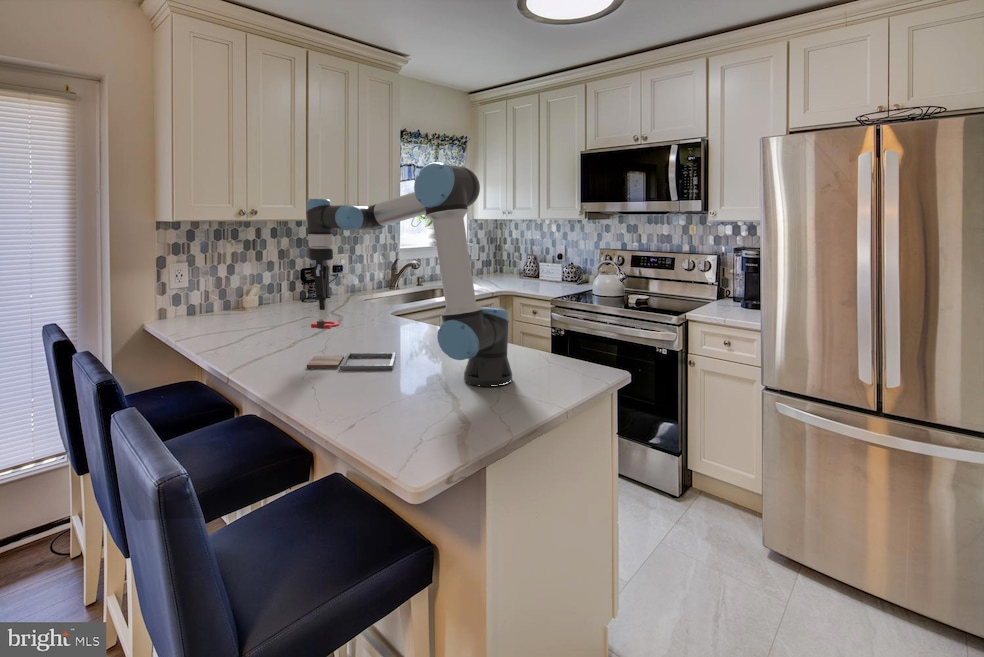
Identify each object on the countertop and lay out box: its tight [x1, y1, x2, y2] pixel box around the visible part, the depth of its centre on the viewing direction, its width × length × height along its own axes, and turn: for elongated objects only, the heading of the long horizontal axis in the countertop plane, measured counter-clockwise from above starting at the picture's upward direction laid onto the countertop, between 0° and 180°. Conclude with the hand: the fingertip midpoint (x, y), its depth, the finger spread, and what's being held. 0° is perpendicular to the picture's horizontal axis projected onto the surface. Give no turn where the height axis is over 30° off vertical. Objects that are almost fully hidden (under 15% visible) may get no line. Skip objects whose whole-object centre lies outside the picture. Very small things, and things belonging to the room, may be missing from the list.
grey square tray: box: [339, 352, 397, 371], centre depth 179 cm, size 17×17×2 cm
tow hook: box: [310, 314, 340, 330], centre depth 177 cm, size 8×13×9 cm
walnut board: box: [306, 355, 345, 369], centre depth 177 cm, size 12×10×1 cm
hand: (323, 318), depth 174 cm, fingers closed on tow hook, 2 cm apart
